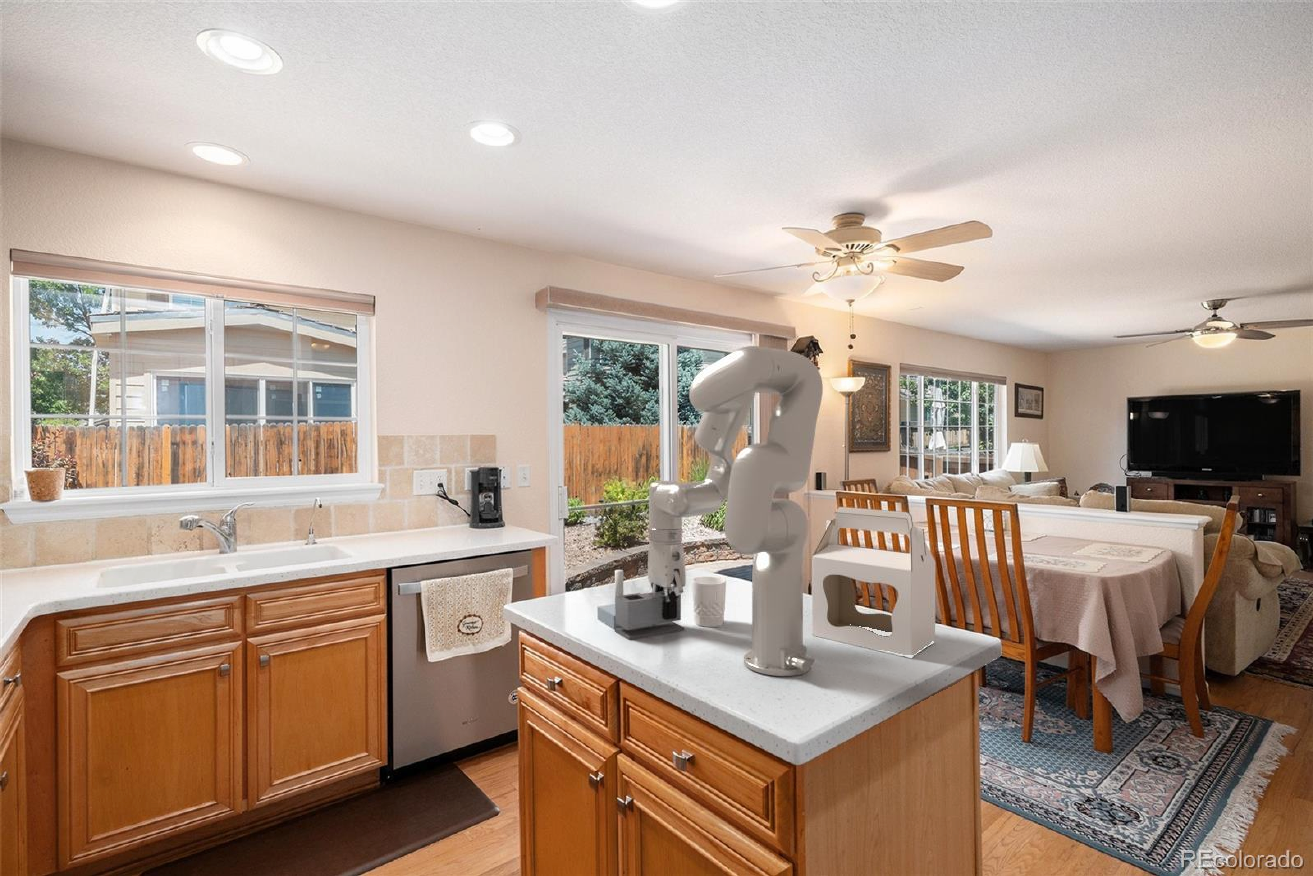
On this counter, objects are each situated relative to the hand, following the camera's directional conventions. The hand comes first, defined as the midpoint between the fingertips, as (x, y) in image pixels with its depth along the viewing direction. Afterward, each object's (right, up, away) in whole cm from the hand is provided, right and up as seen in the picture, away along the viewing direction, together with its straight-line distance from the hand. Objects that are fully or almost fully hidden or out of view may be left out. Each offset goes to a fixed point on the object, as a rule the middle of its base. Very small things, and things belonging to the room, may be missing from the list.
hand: (664, 615), depth 144 cm
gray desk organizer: (-4, -1, -2) cm, 4 cm away
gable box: (+45, -3, -8) cm, 45 cm away
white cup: (+10, -3, +4) cm, 12 cm away
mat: (-3, -3, -2) cm, 5 cm away
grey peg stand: (-9, -3, +6) cm, 11 cm away
